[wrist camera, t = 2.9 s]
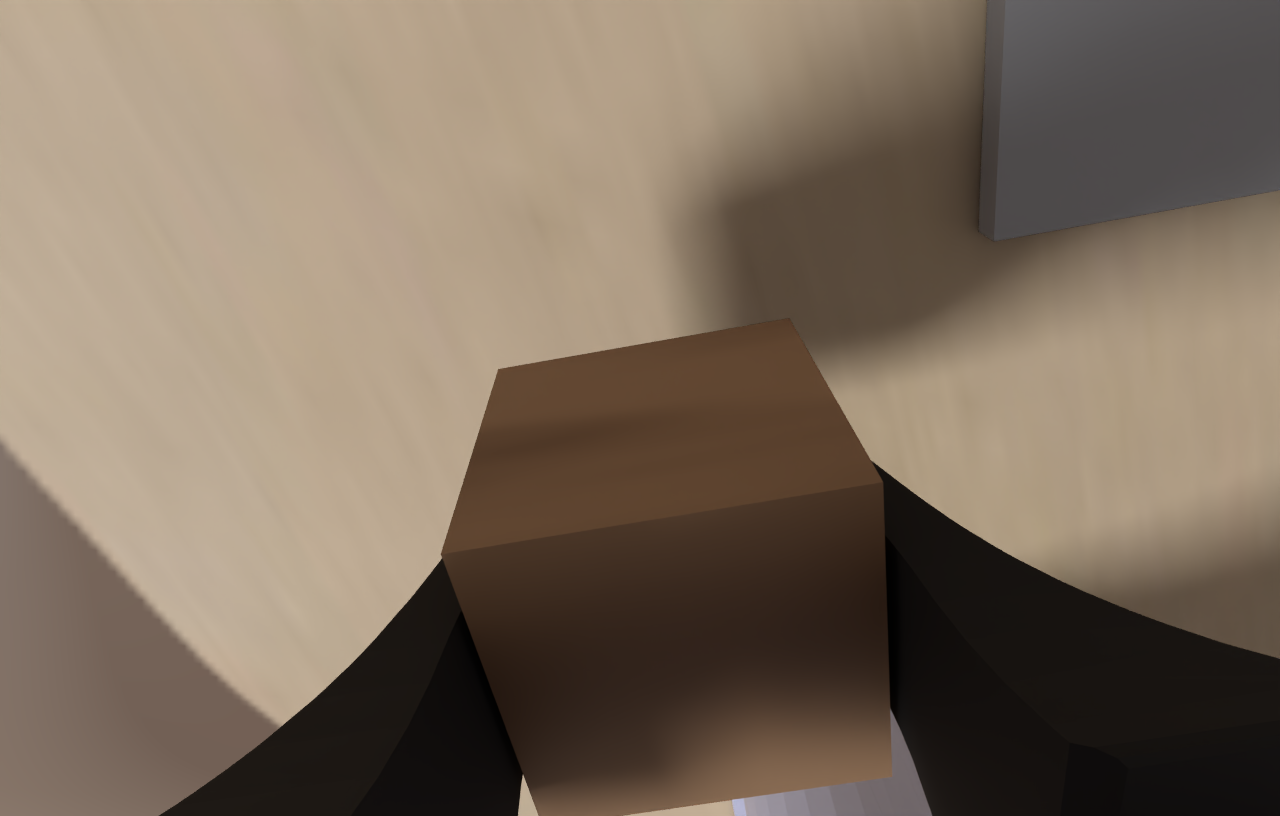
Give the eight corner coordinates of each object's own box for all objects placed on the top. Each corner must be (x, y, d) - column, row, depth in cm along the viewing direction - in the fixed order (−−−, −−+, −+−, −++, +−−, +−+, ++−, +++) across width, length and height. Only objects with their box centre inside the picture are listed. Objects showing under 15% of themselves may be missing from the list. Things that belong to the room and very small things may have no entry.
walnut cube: (809, 552, 15) (892, 776, 11) (562, 591, 15) (543, 826, 11) (789, 317, 13) (883, 482, 8) (498, 368, 13) (440, 554, 9)
